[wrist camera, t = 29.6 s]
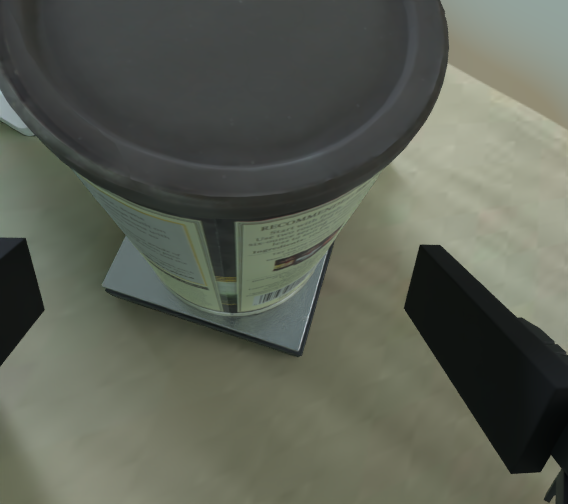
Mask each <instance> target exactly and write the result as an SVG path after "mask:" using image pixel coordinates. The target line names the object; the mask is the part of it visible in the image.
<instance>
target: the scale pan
mask: <svg viewBox="0 0 568 504" xmlns="http://www.w3.org/2000/svg"><path fill="white" fill-rule="evenodd" d="M327 252H328V250H327V251H326V253H325V254H324V256H323V257H322V258H321V260H320V261H319V263H318V264H317V266H316V268H315V270H314V272H313V274H312V275H311V277H310V278H309V280H308V281H307V282H306V283H305V285H304V286H303V287H302V288H301V289H300V290H299V291H298V292H297V293H295V294H294V295H293V296H292V297H291V298H289V299H288V300H286V301H285V302H283V303H282V304H280V305H278V306H276V307H274V308H272V309H269V310H267V311H264V312H261V313H258V314H252V315H247V316H222V315H215V314H212V313H208V312H205V311H201V310H199V309H197V308H195V307H193V306H190V305H188V304H186V303H184V302H183V301H182V300H180V299H179V298H178V297H176V296H175V295H174V294H173V293H172V292H170V291H169V290H168V289H167V288H166V287H165V286H164V284H163V283H162V282H161V281H160V280H159V278H158V277H157V275H156V273H155V272H154V270H153V268H152V267H151V266H150V264H149V263H148V262H147V261H146V260H145V258H144V257H143V256H142V255H141V253H140V252H139V251H138V250H137V249H136V248H135V246H134V245H133V244H132V243H131V241H130V240H129V239H128V238H127V236H125V238H124V240H123V242H122V244H121V246H120V248H119V250H118V252H117V254H116V256H115V258H114V260H113V262H112V265H111V267H110V269H109V271H108V273H107V275H106V277H105V279H104V281H103V283H102V285H101V286H102V287H104V288H107V289H110V290H113V291H116V292H119V293H122V294H125V295H128V296H131V297H134V298H137V299H140V300H143V301H146V302H149V303H152V304H155V305H158V306H161V307H164V308H167V309H170V310H173V311H176V312H179V313H182V314H185V315H188V316H191V317H194V318H197V319H200V320H203V321H206V322H209V323H212V324H215V325H218V326H221V327H224V328H227V329H230V330H233V331H236V332H239V333H243V334H246V335H249V336H252V337H255V338H258V339H261V340H264V341H267V342H270V343H273V344H276V345H279V346H282V347H285V348H288V349H291V350H294V351H297V352H298V351H299V349H300V346H301V342H302V339H303V335H304V332H305V328H306V325H307V322H308V318H309V315H310V311H311V308H312V304H313V301H314V297H315V294H316V290H317V287H318V283H319V280H320V276H321V273H322V270H323V266H324V263H325V259H326V256H327Z"/></svg>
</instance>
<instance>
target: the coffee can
mask: <svg viewBox="0 0 568 504" xmlns="http://www.w3.org/2000/svg"><path fill="white" fill-rule="evenodd" d="M448 51H449V40H448V27H447V21H446V17H445V11H444V9H443V7H442V4H441V1H440V0H0V90H1V92H2V94H3V95H4V97H5V99H6V101H7V102H8V103H9V105H10V106H11V108H12V109H13V110H14V111H15V112H16V114H17V115H18V116H19V117H20V119H21V120H22V121H23V122H24V123H25V124H26V126H27V127H28V128H29V129H30V130H31V132H32V133H33V134H35V135H36V136H37V137H38V138H39V139H40V140H41V142H42V143H43V144H44V145H45V146H46V147H47V148H48V149H49V150H51V151H52V152H53V153H54V154H55V155H56V156H57V157H58V158H59V159H60V160H61V161H62V162H64V163H65V164H66V165H68V166H69V167H70V168H71V169H72V170H73V172H74V173H75V174H76V175H77V176H78V178H79V179H80V180H81V181H82V183H83V184H84V185H85V186H86V187H87V189H88V190H89V191H90V192H91V194H92V195H93V196H94V197H95V199H96V200H97V201H98V202H99V203H100V205H101V206H102V207H103V208H104V209H105V210H106V211H107V213H108V214H109V215H110V217H111V218H112V219H113V220H114V222H115V223H116V224H117V225H118V226H119V228H120V229H121V230H122V231H123V232H124V234H125V235H126V236H127V238H128V239H129V240H130V241H131V243H132V244H133V245H134V246H135V248H136V249H137V250H138V251H139V252H140V253H141V255H142V256H143V257H144V258H145V260H146V261H147V262H148V263H149V264H150V266H151V267H152V268H153V270H154V272H155V273H156V275H157V277H158V278H159V280H160V281H161V282H162V283H163V284H164V286H165V287H166V288H167V289H168V290H169V291H170V292H172V293H173V294H174V295H175V296H176V297H178V298H179V299H180V300H182V301H183V302H184V303H186V304H188V305H190V306H193V307H195V308H197V309H199V310H201V311H205V312H208V313H212V314H215V315H222V316H247V315H252V314H258V313H261V312H264V311H267V310H269V309H272V308H274V307H276V306H278V305H280V304H282V303H283V302H285V301H286V300H288V299H289V298H291V297H292V296H293V295H294V294H295V293H297V292H298V291H299V290H300V289H301V288H302V287H303V286H304V285H305V283H306V282H307V281H308V280H309V278H310V277H311V275H312V274H313V272H314V270H315V268H316V266H317V264H318V263H319V261H320V260H321V258H322V257H323V256H324V254H325V253H326V251H327V250H328V249H329V247H330V246H331V244H332V243H333V241H334V240H335V238H336V237H337V235H338V234H339V232H340V231H341V230H342V228H343V227H344V225H345V224H346V222H347V221H348V220H349V218H350V217H351V215H352V214H353V212H354V211H355V210H356V208H357V207H358V205H359V204H360V202H361V201H362V200H363V198H364V197H365V195H366V194H367V192H368V191H369V189H370V188H371V186H372V185H373V184H374V182H375V181H376V179H377V178H378V176H379V175H380V173H381V172H382V170H383V169H384V168H385V167H386V166H387V165H389V164H390V163H391V162H392V161H393V160H394V159H395V158H396V157H397V156H398V155H399V154H400V153H401V152H402V151H403V150H404V149H405V148H406V146H407V145H408V144H409V142H410V141H411V140H412V139H413V137H414V136H415V135H416V134H417V132H418V131H419V130H420V128H421V127H422V126H423V124H424V123H425V121H426V120H427V118H428V116H429V115H430V113H431V111H432V109H433V107H434V105H435V103H436V101H437V99H438V96H439V93H440V90H441V88H442V85H443V81H444V77H445V73H446V68H447V62H448Z"/></svg>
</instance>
